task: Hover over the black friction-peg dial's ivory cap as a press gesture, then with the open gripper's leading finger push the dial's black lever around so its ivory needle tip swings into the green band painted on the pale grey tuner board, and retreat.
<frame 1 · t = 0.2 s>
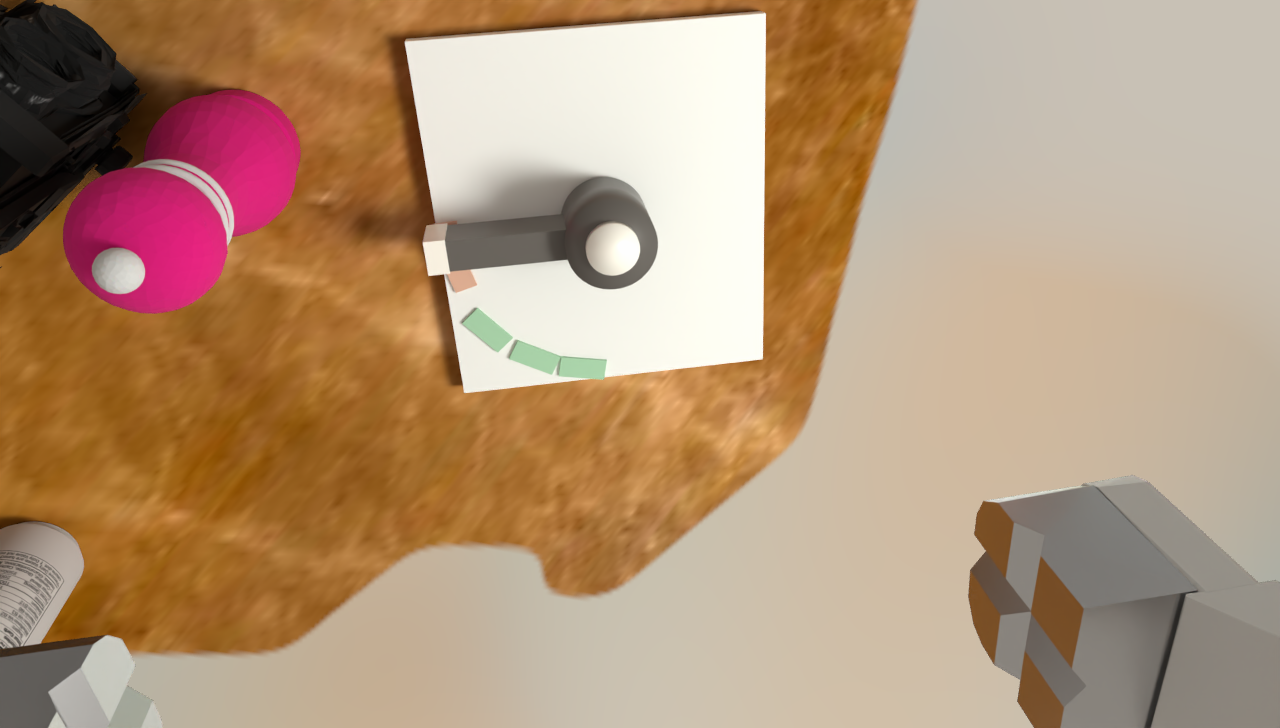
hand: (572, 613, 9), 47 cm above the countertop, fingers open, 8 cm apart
pepper mill: (244, 144, 52), on the countertop
camera: (40, 105, 50), on the countertop
tuner board: (601, 212, 56), on the countertop
energy drink can: (42, 548, 62), on the countertop
dial: (541, 240, 52), point 4 cm above the countertop, hinge at 0.0°
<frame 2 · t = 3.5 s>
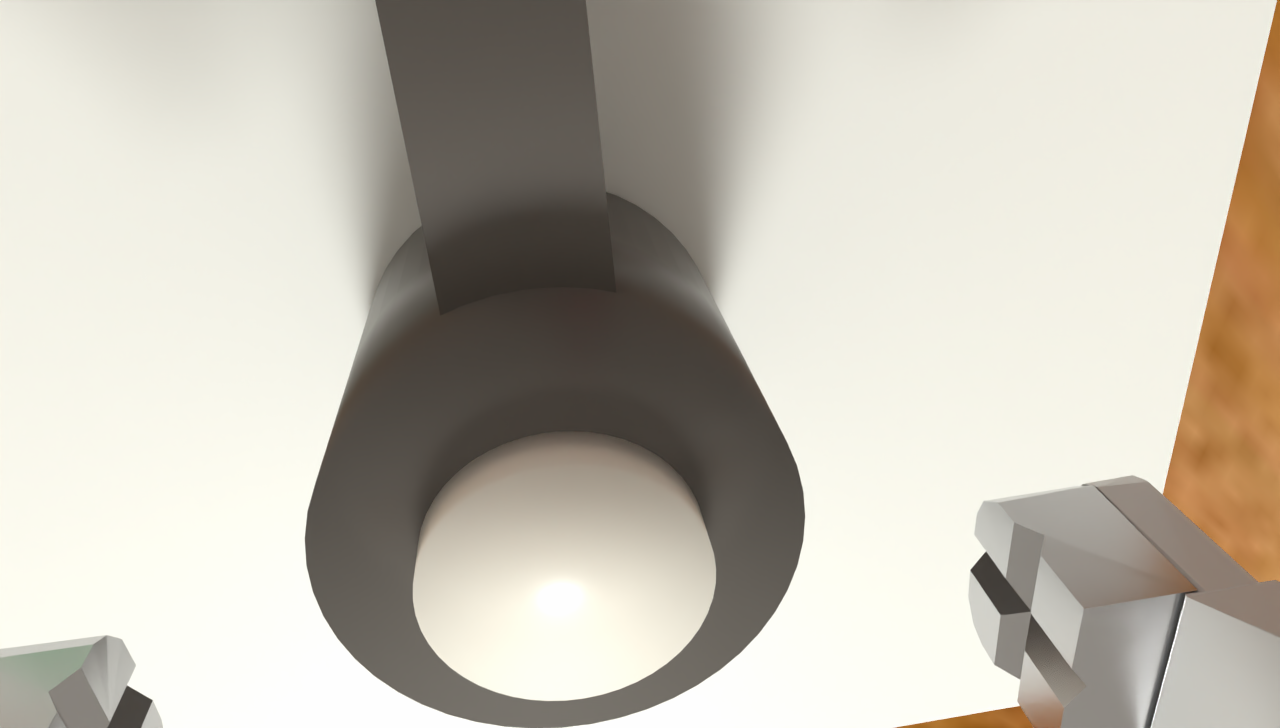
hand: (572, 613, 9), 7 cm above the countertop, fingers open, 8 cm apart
tuner board: (542, 316, 15), on the countertop
dial: (506, 135, 10), point 4 cm above the countertop, hinge at 0.0°
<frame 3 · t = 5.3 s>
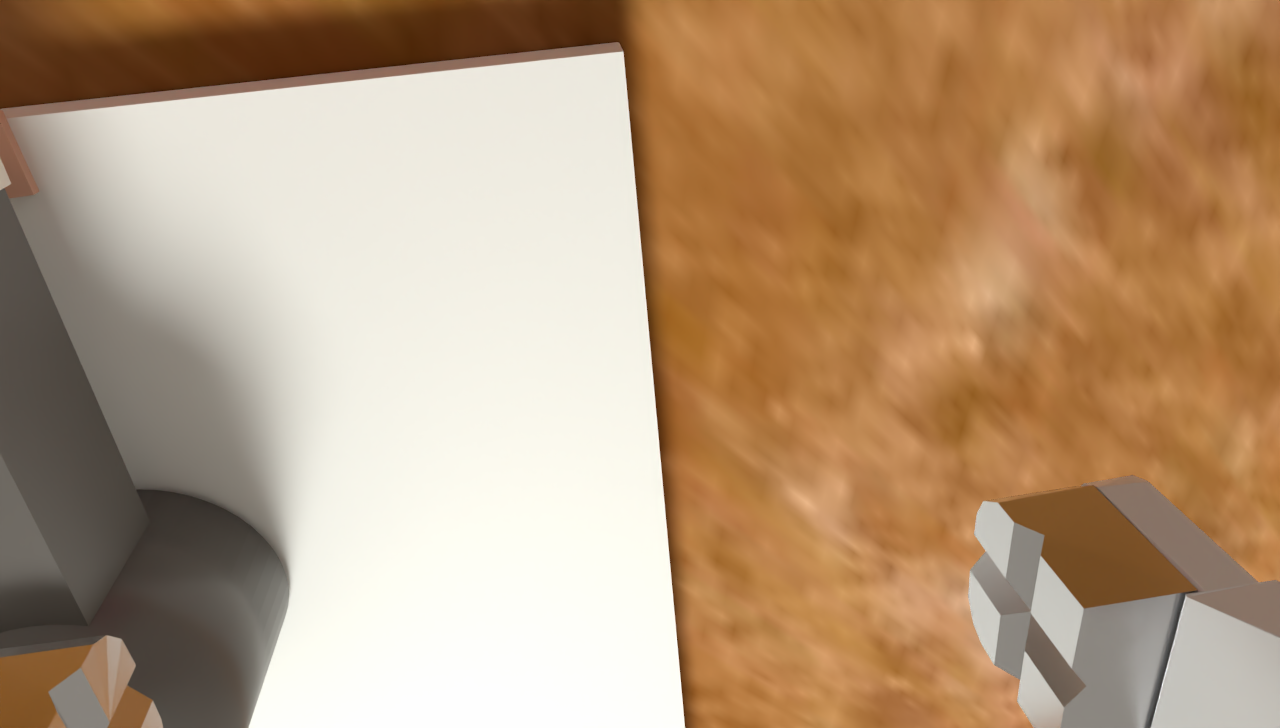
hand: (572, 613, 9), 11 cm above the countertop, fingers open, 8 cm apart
tuner board: (182, 551, 21), on the countertop
dial: (29, 523, 15), point 4 cm above the countertop, hinge at 0.0°
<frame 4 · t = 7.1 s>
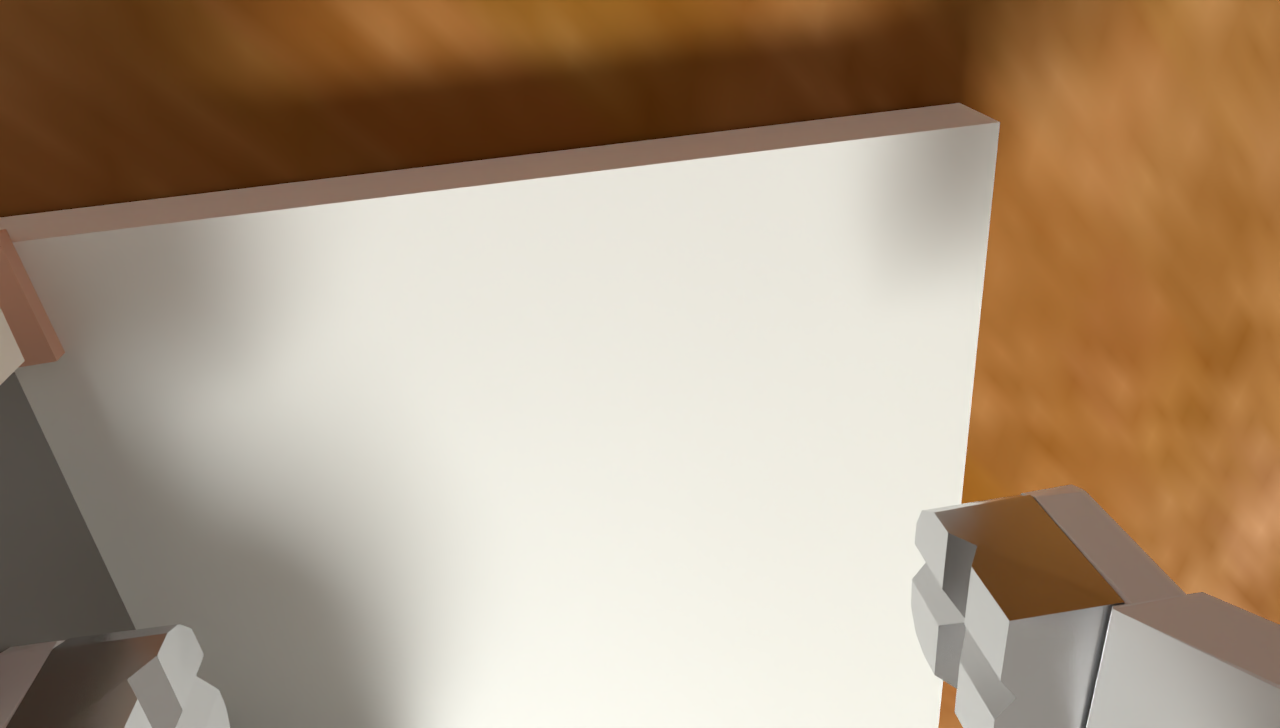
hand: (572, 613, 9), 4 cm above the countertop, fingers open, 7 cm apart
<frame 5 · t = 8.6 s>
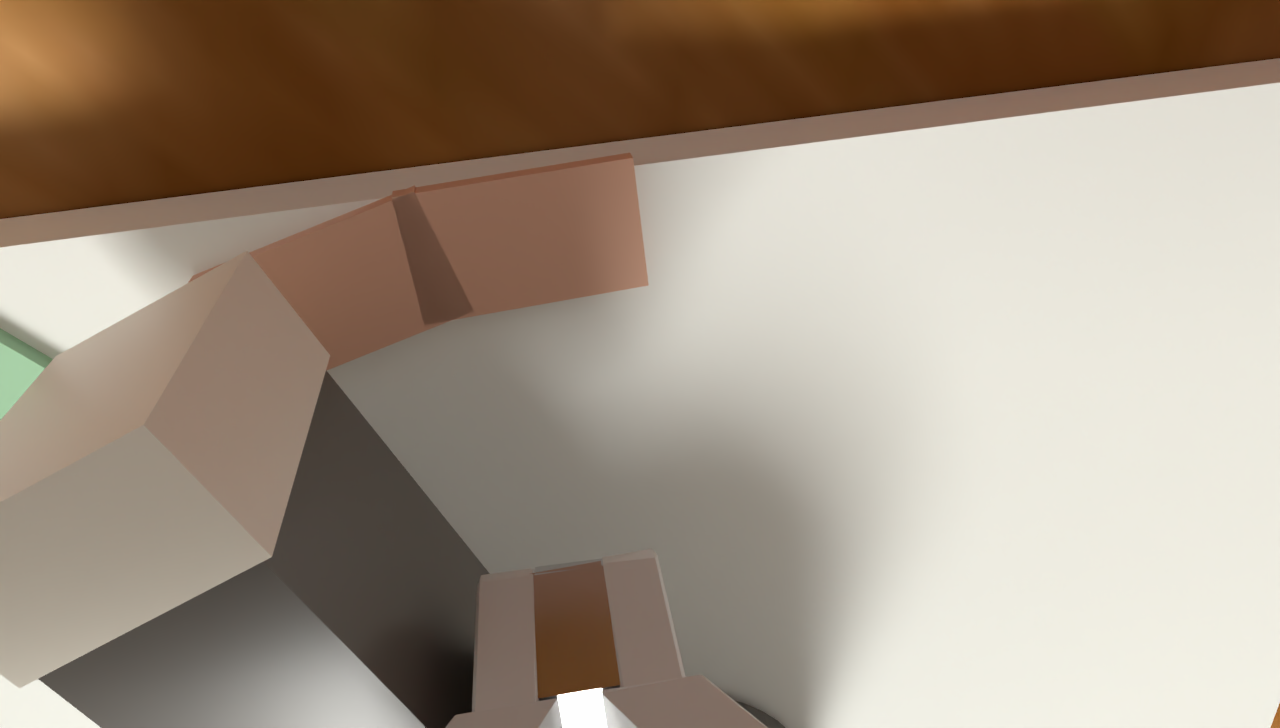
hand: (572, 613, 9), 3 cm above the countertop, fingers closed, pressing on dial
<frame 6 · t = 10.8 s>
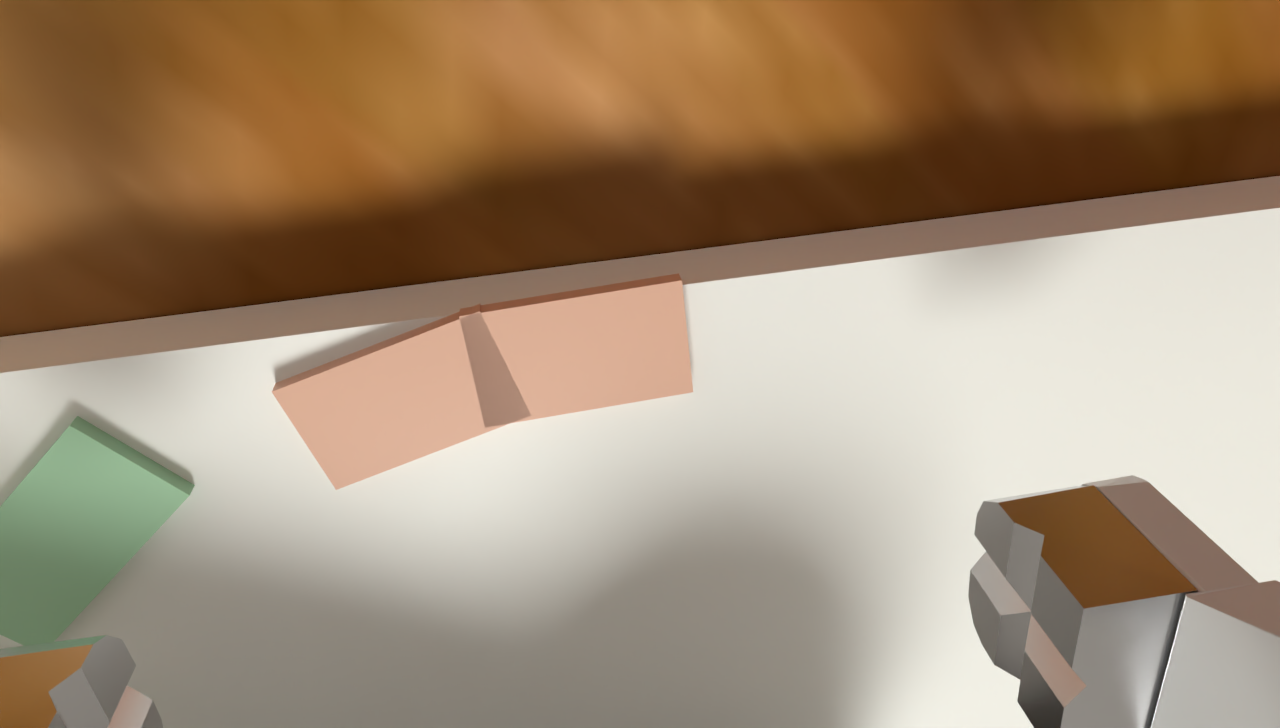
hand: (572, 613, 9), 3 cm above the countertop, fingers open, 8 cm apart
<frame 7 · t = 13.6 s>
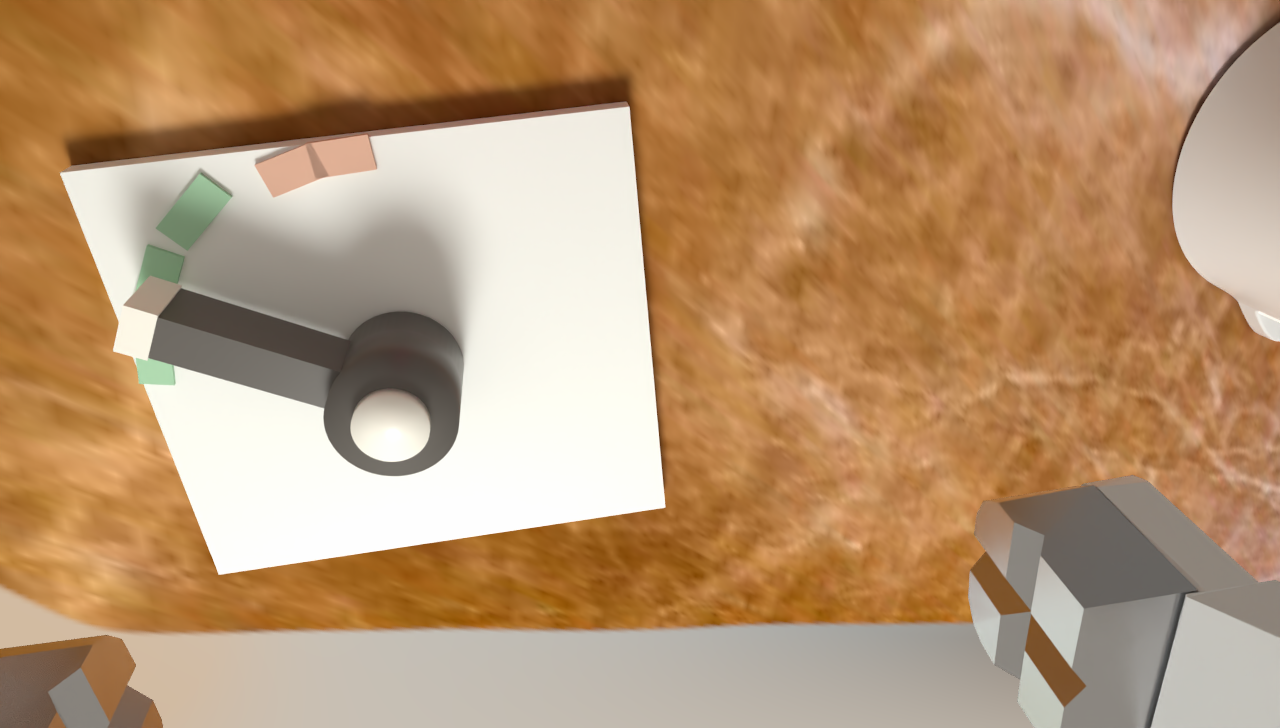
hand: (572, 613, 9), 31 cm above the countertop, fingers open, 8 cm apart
tuner board: (406, 353, 41), on the countertop
dial: (302, 367, 37), point 4 cm above the countertop, hinge at 61.2°
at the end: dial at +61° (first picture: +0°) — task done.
